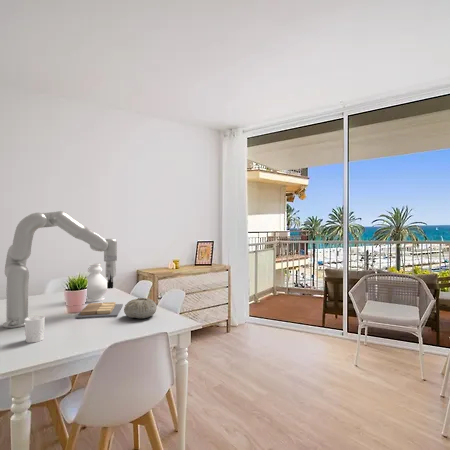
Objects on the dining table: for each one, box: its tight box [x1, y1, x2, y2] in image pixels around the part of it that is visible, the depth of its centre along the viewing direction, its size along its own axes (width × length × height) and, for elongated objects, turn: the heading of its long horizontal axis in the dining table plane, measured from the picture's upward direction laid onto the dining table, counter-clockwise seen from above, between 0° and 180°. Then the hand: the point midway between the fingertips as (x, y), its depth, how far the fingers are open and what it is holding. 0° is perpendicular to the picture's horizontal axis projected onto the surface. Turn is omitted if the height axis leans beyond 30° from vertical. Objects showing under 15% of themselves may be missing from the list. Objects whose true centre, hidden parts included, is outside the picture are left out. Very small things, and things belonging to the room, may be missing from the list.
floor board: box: [75, 302, 123, 320], centre depth 191 cm, size 26×22×3 cm
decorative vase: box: [86, 262, 109, 303], centre depth 223 cm, size 18×18×25 cm
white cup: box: [24, 315, 46, 344], centre depth 143 cm, size 8×8×10 cm
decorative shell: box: [123, 297, 157, 319], centre depth 180 cm, size 18×18×10 cm
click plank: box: [97, 301, 117, 314], centre depth 192 cm, size 20×8×2 cm, turn 11°
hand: (110, 288), depth 198 cm, fingers closed
